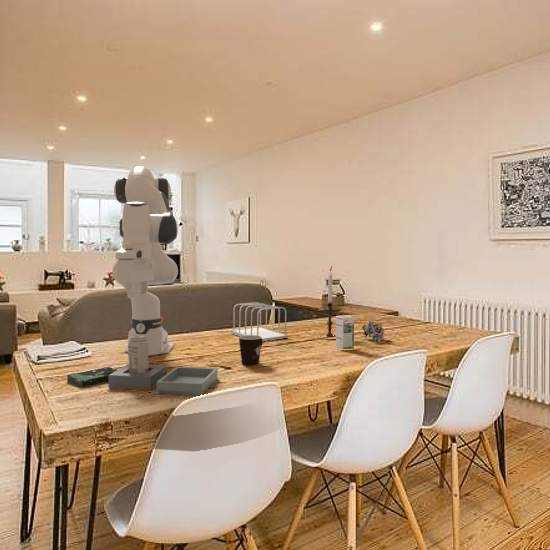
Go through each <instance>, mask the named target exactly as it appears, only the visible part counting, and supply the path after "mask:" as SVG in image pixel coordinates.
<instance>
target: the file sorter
mask: <svg viewBox="0 0 550 550" xmlns="http://www.w3.org/2000/svg"><path fill="white" fill-rule="evenodd" d="M238 306H240V308H239V315H238V318H239V319H238V321H239V322H238V329H235V327H236V326H235V320H236V319H235V318H236V317H235V316H236V315H235V311H236V310H235V309H236V307H238ZM245 306H246V308H245V311H244V328H243V329H242V328H241V322H242V321H241V318H242V316H241V312H242V308H243V307H245ZM249 308H252V309H251V311H250V327H249V328H247V311H248V309H249ZM256 309H259V310H258V311H257V313H256V315H257V317H256V319H257V320H256V321H257V323H256V327H253V312H254V310H256ZM276 309H277V310H278V324H277V325H278V327H277V329H278V330H277V331H276V330H274V321H275V320H274V316H275V314H274V313H275V310H276ZM281 309H283V310H284V333H282V332H280V329H281V327H280V326H281V324H280V323H281ZM268 310H272V311H271V312H272V314H271V321H272V322H271V329H268ZM262 311H265V327H262ZM232 312H233V313H232V314H233V315H232V323H233V324H232V325H233V327H232V330H231V335H233V334H234V335H235V336H236V335H238V336H237V337H239V336H245V335H257V336H261V337H262V340H263V341H266V342H269V341H268V340H273V341H275V340H274V339H281V340H283V339H282V338H288V339H289V335H288V334H287V309H286V307H284V306H274V305H272V304H266V303H260V302H257V301H256V302H245V303H237V304H235V305H234V306H233V311H232ZM234 335H233V336H234Z"/></svg>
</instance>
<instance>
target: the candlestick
mask: <svg viewBox="0 0 550 550" xmlns="http://www.w3.org/2000/svg"><path fill="white" fill-rule="evenodd" d="M332 269H333V265H331V267H330V269H329V274H328V275H327V276H328V279H327V280H328V282H327V283H328V284H327V285H328V286H327V288H328V289H327V306H320V307H318V311H319V312H323V313H326V314H328V321H326V324H327V327H326V328H327V333H326V334H325V335H326V337H334V336H336V334H333V333H332V329H333V327H332V325H333V321H332V314H334V313H339V312H342V307H339V306H333V274H332ZM322 335H323V334H321V335H320V336H319V338H320V337H321V336H322ZM333 335H334V336H333Z"/></svg>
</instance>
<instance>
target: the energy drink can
mask: <svg viewBox="0 0 550 550" xmlns="http://www.w3.org/2000/svg"><path fill="white" fill-rule="evenodd" d="M127 348H129V353H128V364H129V373H135V374H146V373H147V372H148V365H149V355H148V341H147V339H146V336H144V335H135V336H131V337H130V340H129V342H128V341H127Z"/></svg>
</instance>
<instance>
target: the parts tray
mask: <svg viewBox="0 0 550 550" xmlns="http://www.w3.org/2000/svg"><path fill="white" fill-rule="evenodd" d="M218 369H219V368H216V367H215V368H212V367H211V368H210V367H209V368H208V367H191V366H190V367H188V366H187V367H186V366H176V367H174V368H173V369H172V370H171V371H169V372H168V373H167V375H165V376H164V377H162V378H161V379H160V380H158V381H157V382H156V386H155V387H156V388H155V389H156V394H158V393H167V394H166V395H178V394H185V395H184V396H198V395H201V394H203V393H204V394H205V393H206V392H207V391H208V390H209V389H210V388H211V387H212V386H213V384H214V383H215V382H217V380H218V379H219V378H218V373H219V372H218ZM209 387H210V388H209ZM208 388H209V389H208ZM207 389H208V390H207ZM204 394H203V395H204Z"/></svg>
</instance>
